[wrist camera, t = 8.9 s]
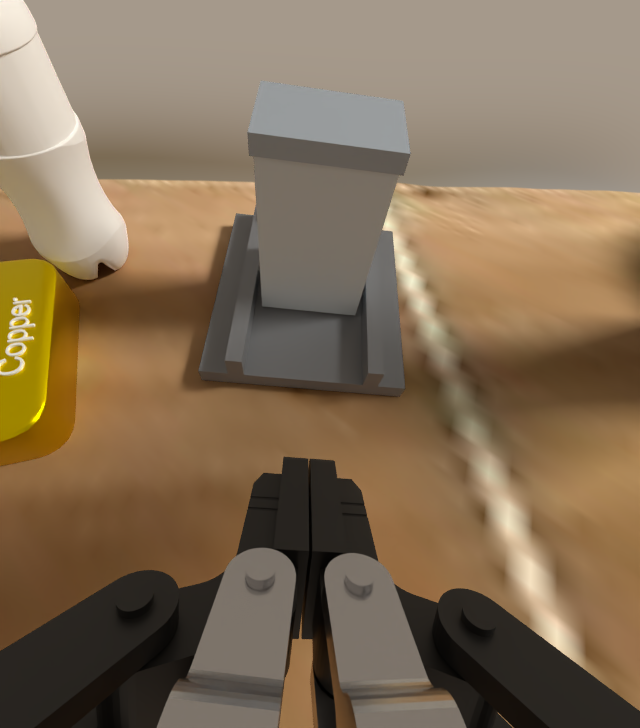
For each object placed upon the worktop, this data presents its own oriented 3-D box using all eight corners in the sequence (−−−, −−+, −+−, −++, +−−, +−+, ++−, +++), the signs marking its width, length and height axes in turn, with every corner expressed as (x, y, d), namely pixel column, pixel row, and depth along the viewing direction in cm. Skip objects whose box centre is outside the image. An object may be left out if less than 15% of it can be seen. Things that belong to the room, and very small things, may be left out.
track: (388, 242, 38) (401, 206, 35) (399, 396, 30) (418, 370, 26) (237, 225, 37) (232, 185, 33) (201, 379, 28) (190, 350, 25)
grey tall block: (357, 271, 34) (403, 100, 21) (357, 317, 31) (410, 153, 19) (266, 261, 33) (260, 80, 21) (259, 307, 30) (247, 132, 18)
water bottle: (83, 223, 35) (-226, -323, 14) (151, 243, 35) (-54, -284, 13) (34, 274, 32) (-490, -355, 10) (109, 297, 31) (-264, -303, 10)
